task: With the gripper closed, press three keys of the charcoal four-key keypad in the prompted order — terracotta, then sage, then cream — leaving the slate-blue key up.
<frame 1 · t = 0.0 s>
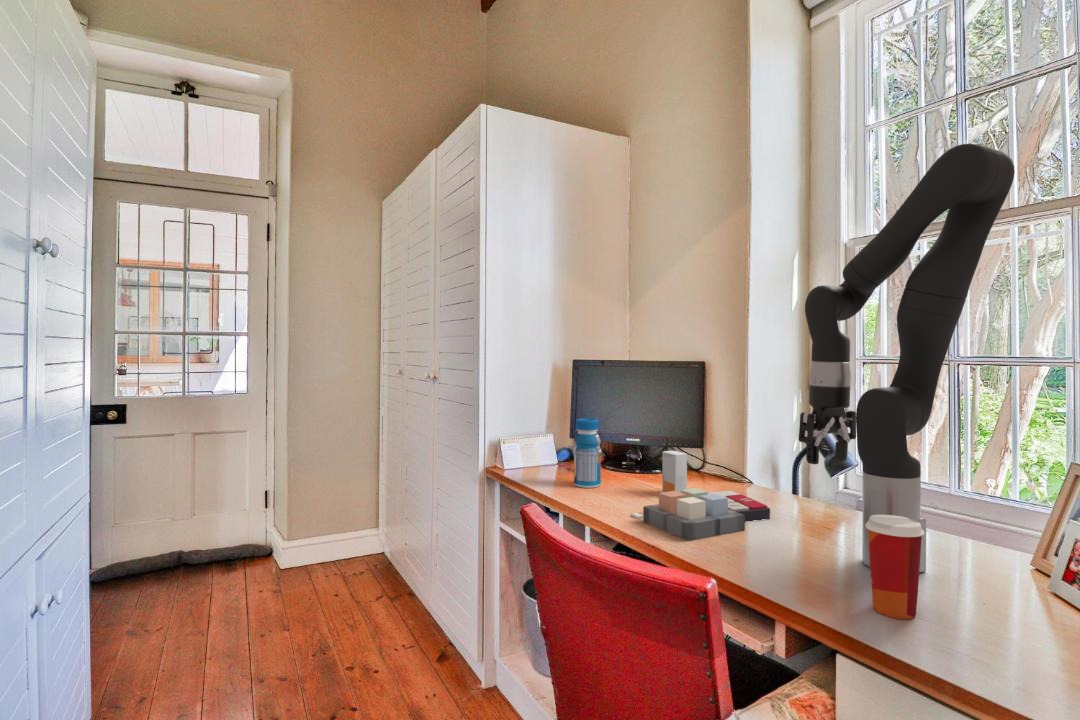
hand: (827, 461, 118), 17 cm above the table, tool pointing down, fingers open, 8 cm apart
skincare box: (674, 495, 161), on the table
cream key: (691, 509, 127), point 5 cm above the table, slide at 0.0 cm
slate key: (713, 505, 130), point 5 cm above the table, slide at 0.0 cm
beverage bottle: (587, 486, 173), on the table
terracotta key: (672, 502, 133), point 5 cm above the table, slide at 0.0 cm
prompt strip: (661, 513, 142), on the table
paper cup: (893, 612, 88), on the table
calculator: (731, 515, 142), on the table
keypad base: (692, 525, 132), on the table
sage key: (694, 499, 136), point 5 cm above the table, slide at 0.0 cm
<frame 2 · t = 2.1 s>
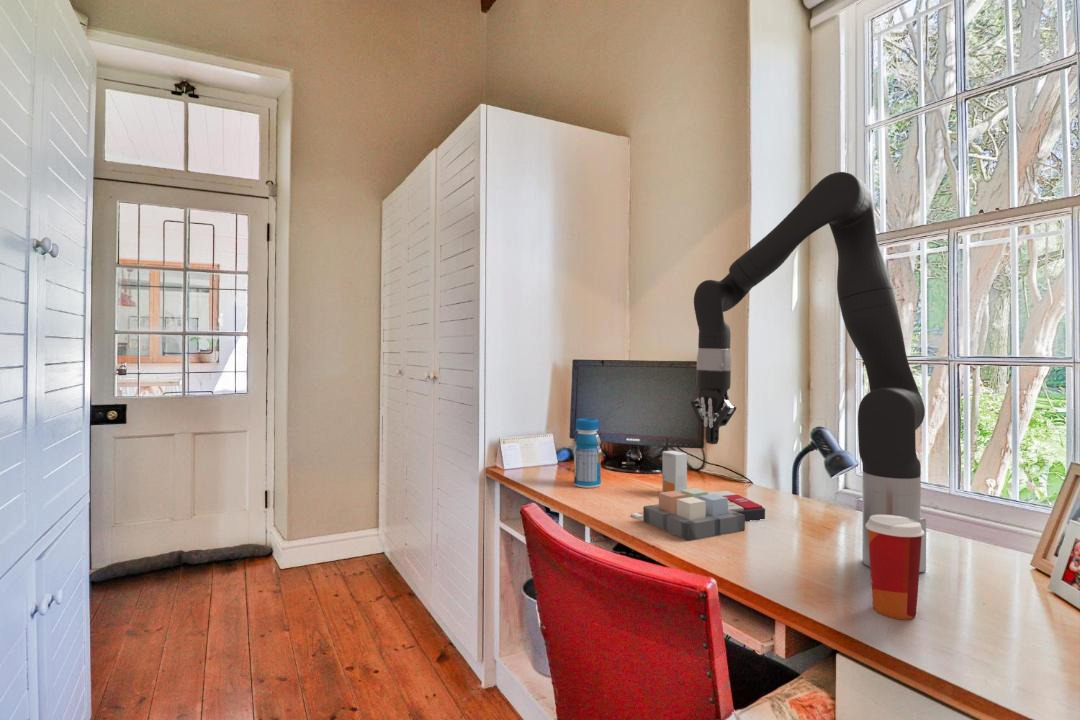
hand: (711, 443, 132), 19 cm above the table, tool pointing down, fingers closed
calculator: (727, 515, 142), on the table
everything else where it was.
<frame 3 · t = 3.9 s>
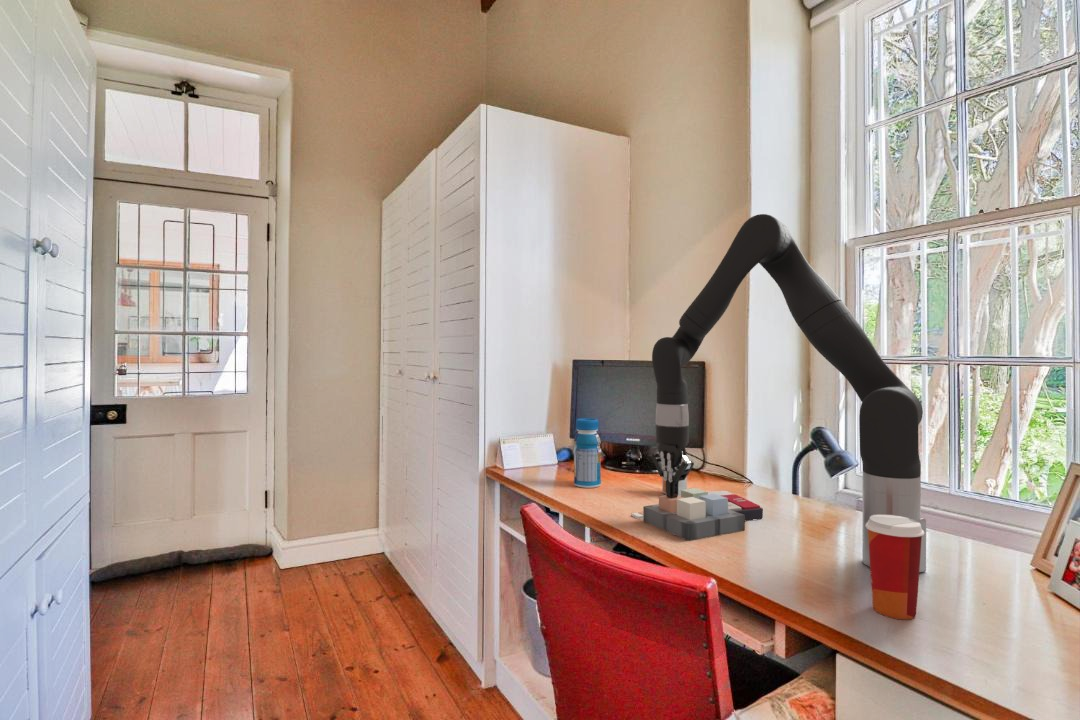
hand: (671, 497, 133), 6 cm above the table, tool pointing down, fingers closed
terracotta key: (672, 505, 133), point 4 cm above the table, slide at -0.8 cm, touching gripper
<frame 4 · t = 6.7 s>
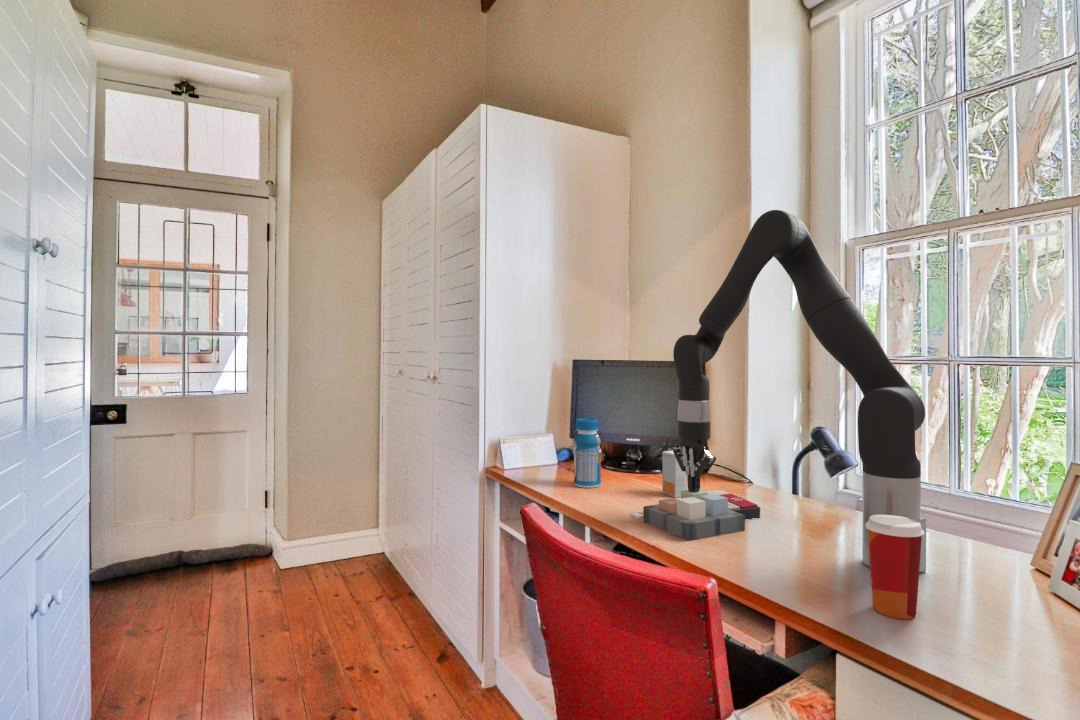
hand: (693, 491, 136), 7 cm above the table, tool pointing down, fingers closed
terracotta key: (672, 509, 133), point 3 cm above the table, slide at -1.7 cm
sage key: (694, 499, 136), point 5 cm above the table, slide at -0.2 cm, touching gripper
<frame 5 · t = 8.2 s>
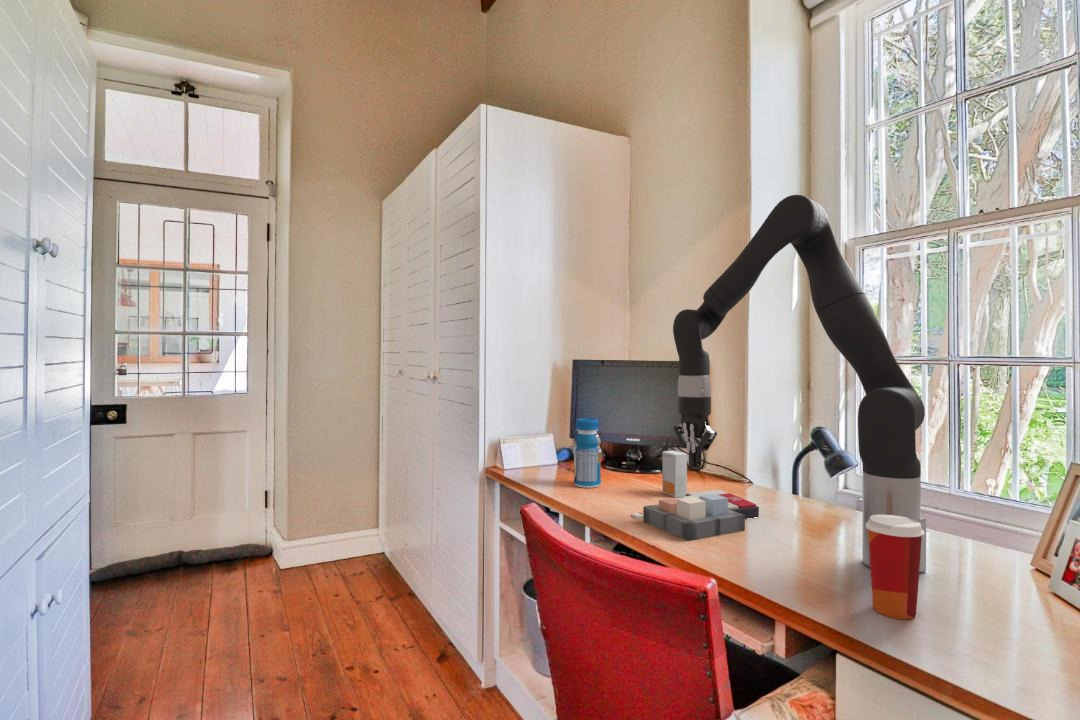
hand: (695, 467, 135), 13 cm above the table, tool pointing down, fingers closed
sage key: (694, 506, 136), point 3 cm above the table, slide at -1.7 cm
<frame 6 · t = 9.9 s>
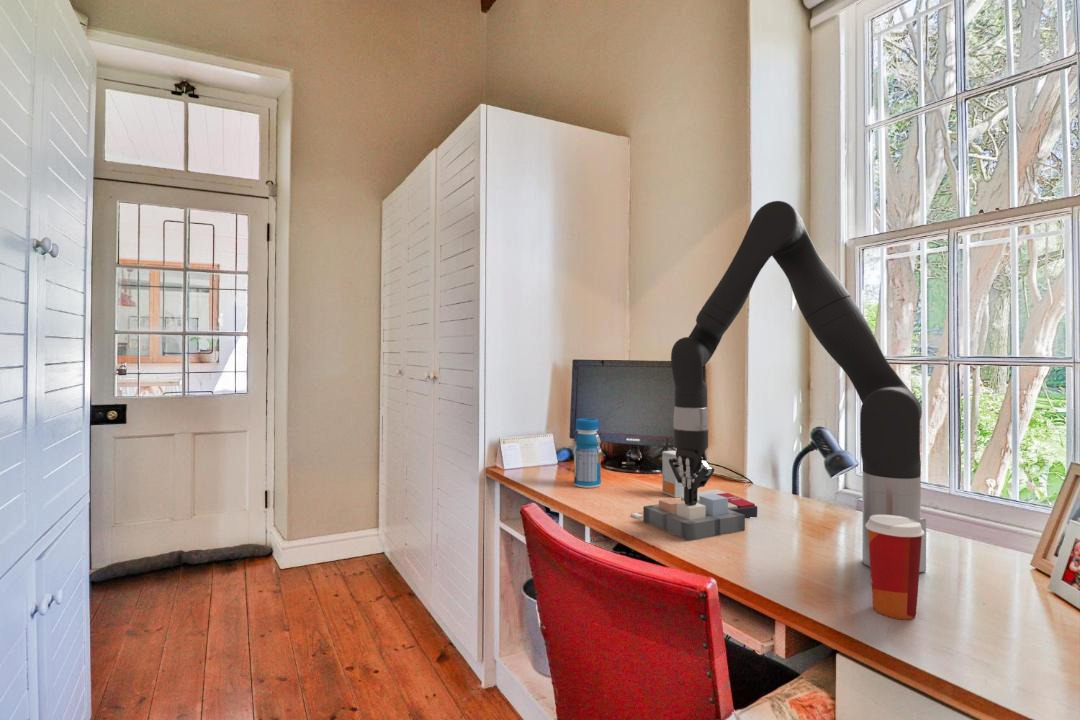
hand: (690, 504, 127), 6 cm above the table, tool pointing down, fingers closed
cream key: (691, 513, 127), point 4 cm above the table, slide at -1.0 cm, touching gripper
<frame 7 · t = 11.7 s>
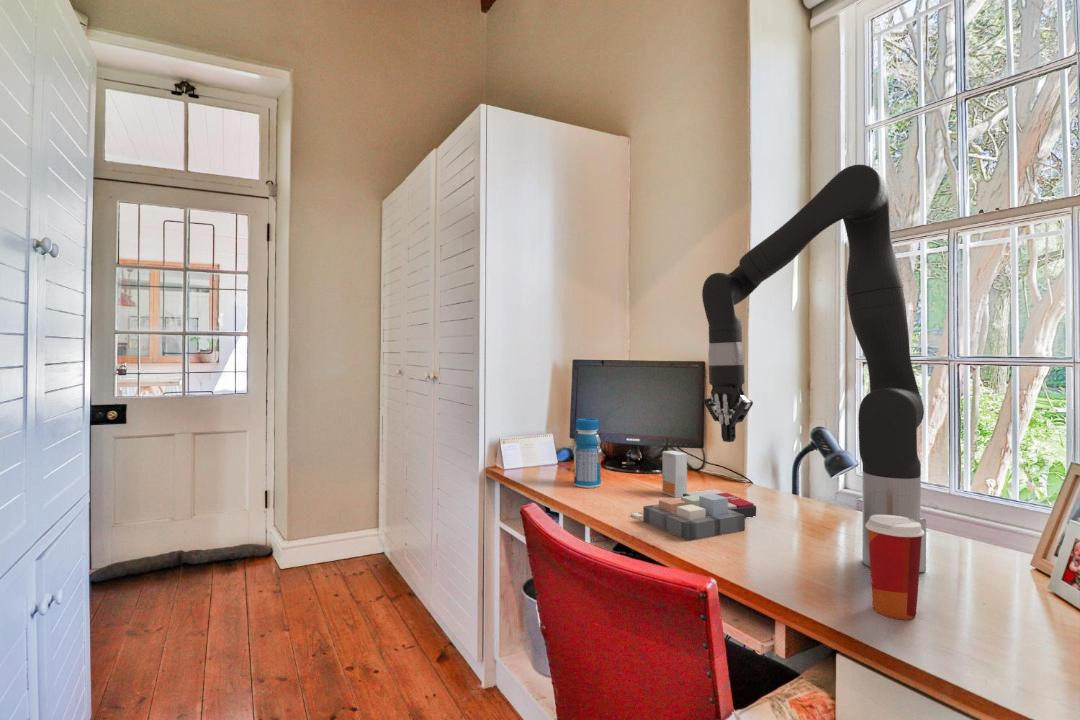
hand: (728, 441, 127), 20 cm above the table, tool pointing down, fingers closed
cream key: (691, 516, 127), point 3 cm above the table, slide at -1.7 cm
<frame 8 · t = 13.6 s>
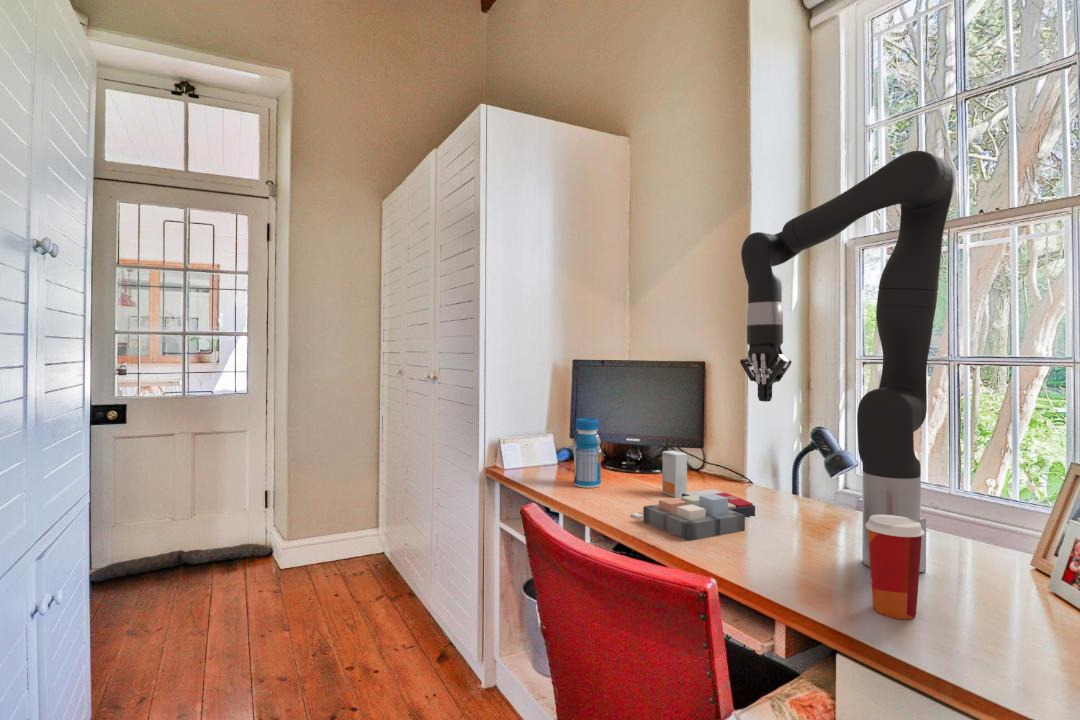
hand: (764, 401, 128), 29 cm above the table, tool pointing down, fingers closed
at the end: terracotta key slide at -1.7 cm; sage key slide at -1.7 cm; cream key slide at -1.7 cm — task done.
